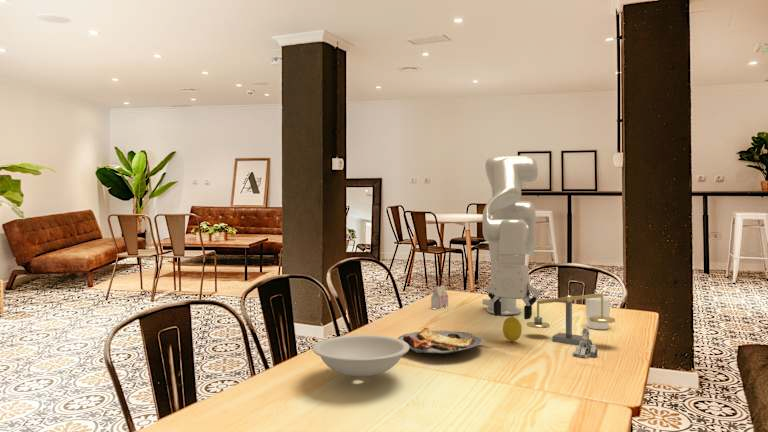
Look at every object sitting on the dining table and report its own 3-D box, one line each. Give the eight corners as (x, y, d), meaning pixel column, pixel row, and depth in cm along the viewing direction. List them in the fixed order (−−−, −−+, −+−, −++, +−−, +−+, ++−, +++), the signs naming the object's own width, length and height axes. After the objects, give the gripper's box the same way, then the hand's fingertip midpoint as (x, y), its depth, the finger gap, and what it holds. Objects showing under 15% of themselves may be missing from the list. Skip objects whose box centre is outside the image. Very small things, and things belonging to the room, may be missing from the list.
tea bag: (431, 312, 208) (431, 287, 208) (440, 309, 214) (440, 285, 214) (439, 313, 206) (439, 287, 206) (448, 310, 212) (448, 285, 211)
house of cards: (599, 365, 138) (599, 335, 138) (568, 358, 144) (568, 330, 144) (615, 358, 144) (615, 330, 144) (584, 352, 150) (584, 325, 150)
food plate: (381, 347, 157) (381, 335, 157) (429, 333, 174) (429, 322, 174) (449, 363, 140) (449, 350, 140) (496, 346, 157) (496, 335, 157)
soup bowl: (375, 395, 115) (375, 365, 115) (292, 377, 128) (292, 350, 128) (426, 367, 136) (426, 341, 135) (350, 354, 148) (350, 330, 148)
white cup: (605, 325, 184) (605, 296, 184) (613, 330, 176) (613, 300, 176) (582, 324, 185) (582, 296, 185) (589, 329, 177) (589, 300, 177)
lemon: (522, 340, 162) (522, 314, 162) (520, 345, 157) (520, 318, 157) (503, 339, 164) (503, 313, 164) (502, 343, 159) (501, 317, 159)
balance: (523, 336, 167) (523, 287, 167) (532, 332, 173) (532, 285, 173) (611, 350, 151) (611, 296, 151) (618, 345, 156) (618, 293, 156)
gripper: (480, 259, 163) (480, 315, 162) (534, 262, 152) (534, 322, 152) (492, 258, 168) (492, 312, 168) (544, 261, 158) (544, 318, 157)
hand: (512, 316), depth 160 cm, fingers open, 9 cm apart
